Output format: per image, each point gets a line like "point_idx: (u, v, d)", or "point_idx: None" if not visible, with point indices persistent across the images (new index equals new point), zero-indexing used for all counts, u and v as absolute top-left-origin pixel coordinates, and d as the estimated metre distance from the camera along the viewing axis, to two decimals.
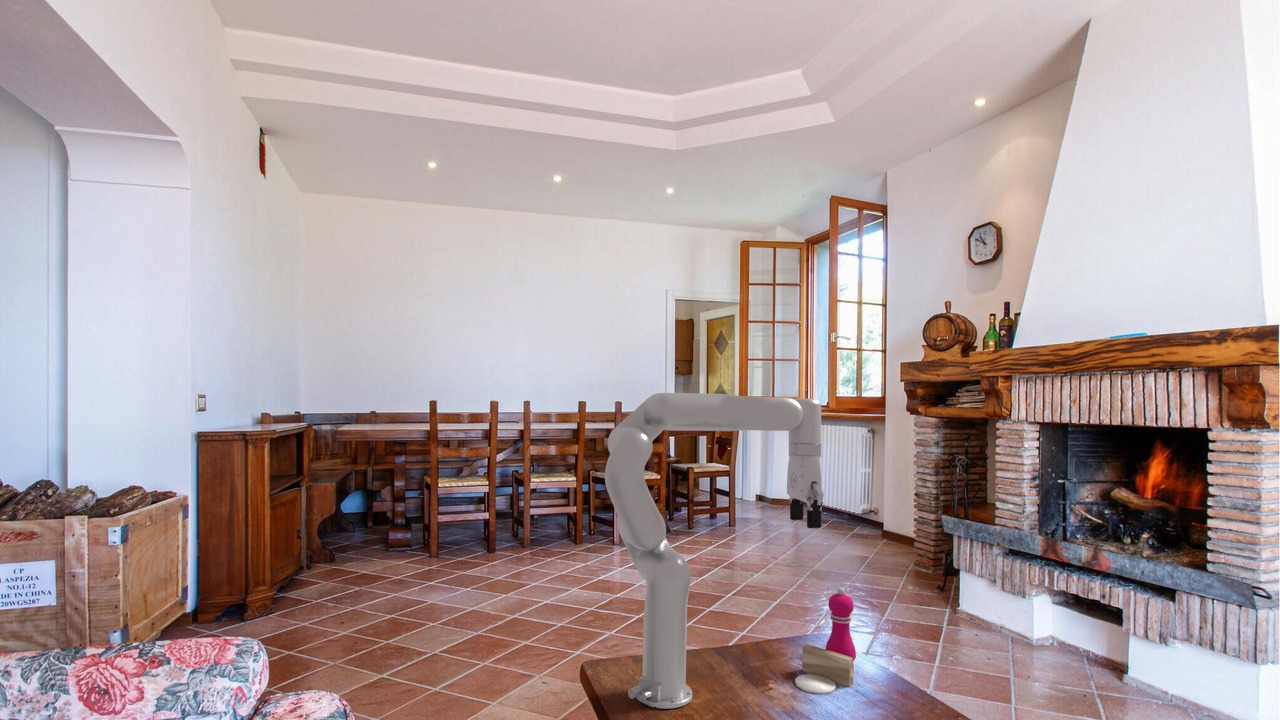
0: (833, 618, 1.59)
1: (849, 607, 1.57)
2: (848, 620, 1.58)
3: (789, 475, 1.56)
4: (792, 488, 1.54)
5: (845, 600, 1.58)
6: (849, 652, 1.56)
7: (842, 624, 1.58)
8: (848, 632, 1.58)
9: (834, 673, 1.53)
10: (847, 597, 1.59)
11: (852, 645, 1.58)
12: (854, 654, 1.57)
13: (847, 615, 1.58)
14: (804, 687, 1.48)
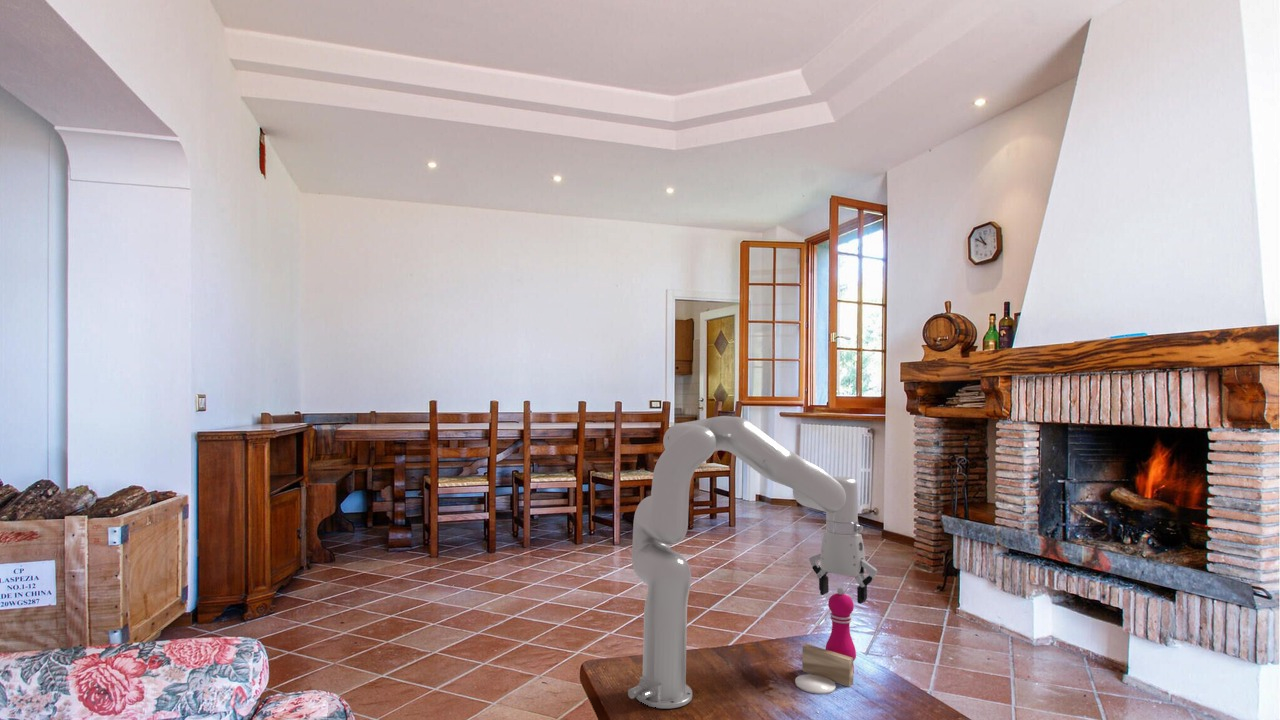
0: (833, 618, 1.59)
1: (849, 607, 1.57)
2: (848, 620, 1.58)
3: None
4: None
5: (845, 600, 1.58)
6: (849, 652, 1.56)
7: (842, 624, 1.58)
8: (848, 632, 1.58)
9: (834, 673, 1.53)
10: (847, 597, 1.59)
11: (852, 645, 1.58)
12: (854, 654, 1.57)
13: (847, 615, 1.58)
14: (804, 687, 1.48)
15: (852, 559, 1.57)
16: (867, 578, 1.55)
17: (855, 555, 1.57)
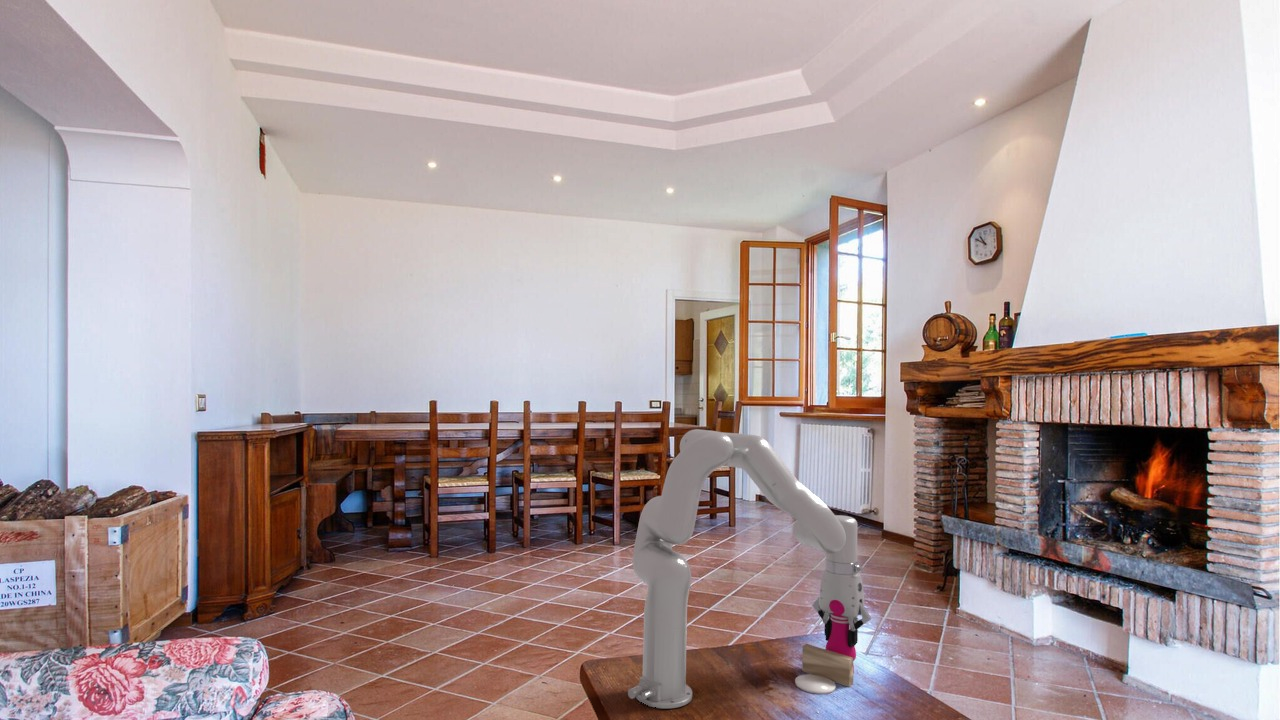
0: (833, 618, 1.59)
1: None
2: None
3: None
4: None
5: None
6: (849, 652, 1.56)
7: (842, 624, 1.58)
8: None
9: (834, 673, 1.53)
10: None
11: None
12: (854, 654, 1.57)
13: None
14: (804, 687, 1.48)
15: (851, 600, 1.56)
16: (858, 622, 1.56)
17: (854, 596, 1.56)
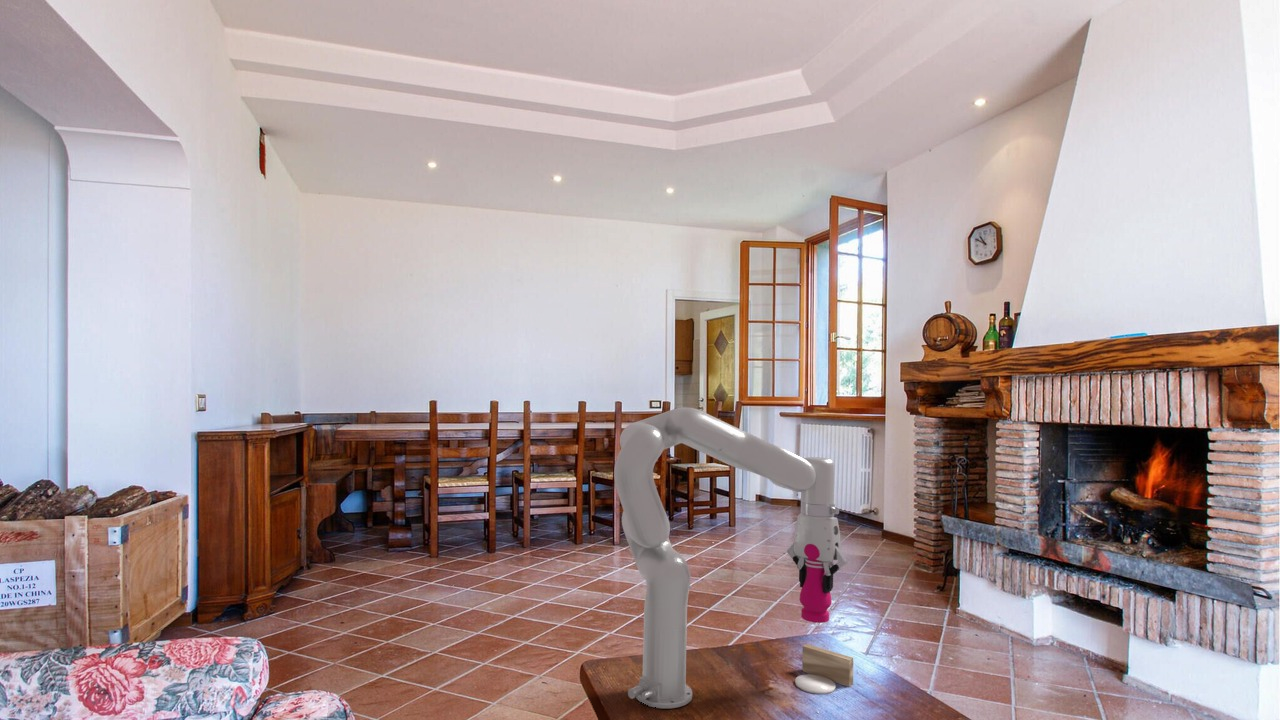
0: (808, 563, 1.51)
1: None
2: None
3: None
4: None
5: None
6: (824, 598, 1.49)
7: (817, 569, 1.50)
8: None
9: (834, 673, 1.53)
10: None
11: None
12: (829, 600, 1.50)
13: None
14: (804, 687, 1.48)
15: (826, 543, 1.49)
16: (833, 566, 1.48)
17: (830, 539, 1.48)
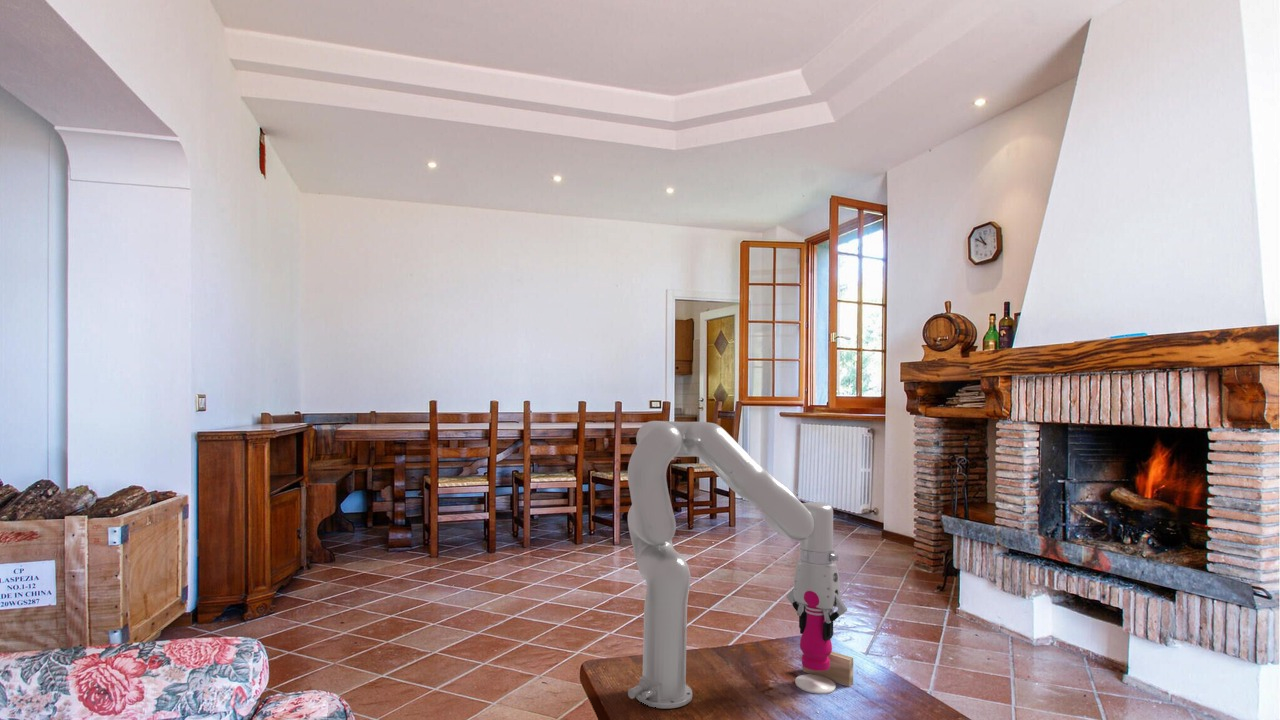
0: (808, 610, 1.51)
1: None
2: None
3: None
4: None
5: None
6: (824, 645, 1.48)
7: (817, 616, 1.50)
8: None
9: (834, 673, 1.53)
10: None
11: None
12: (830, 648, 1.49)
13: None
14: (804, 687, 1.48)
15: (826, 591, 1.48)
16: (833, 614, 1.48)
17: (829, 586, 1.48)
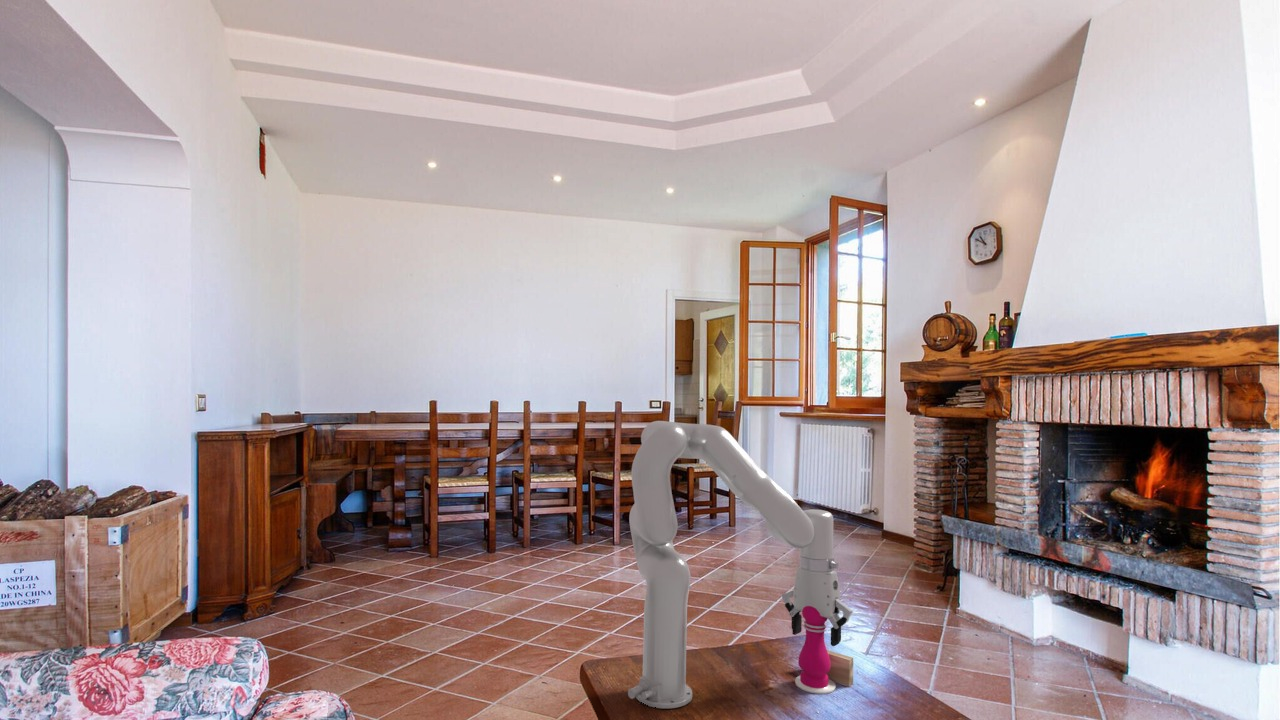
0: (807, 627, 1.50)
1: None
2: (822, 629, 1.49)
3: None
4: None
5: None
6: (823, 663, 1.48)
7: (816, 633, 1.49)
8: (822, 641, 1.50)
9: (834, 673, 1.53)
10: None
11: (826, 655, 1.49)
12: (828, 665, 1.49)
13: (821, 623, 1.50)
14: (804, 687, 1.48)
15: (826, 598, 1.48)
16: (841, 619, 1.46)
17: (829, 594, 1.48)
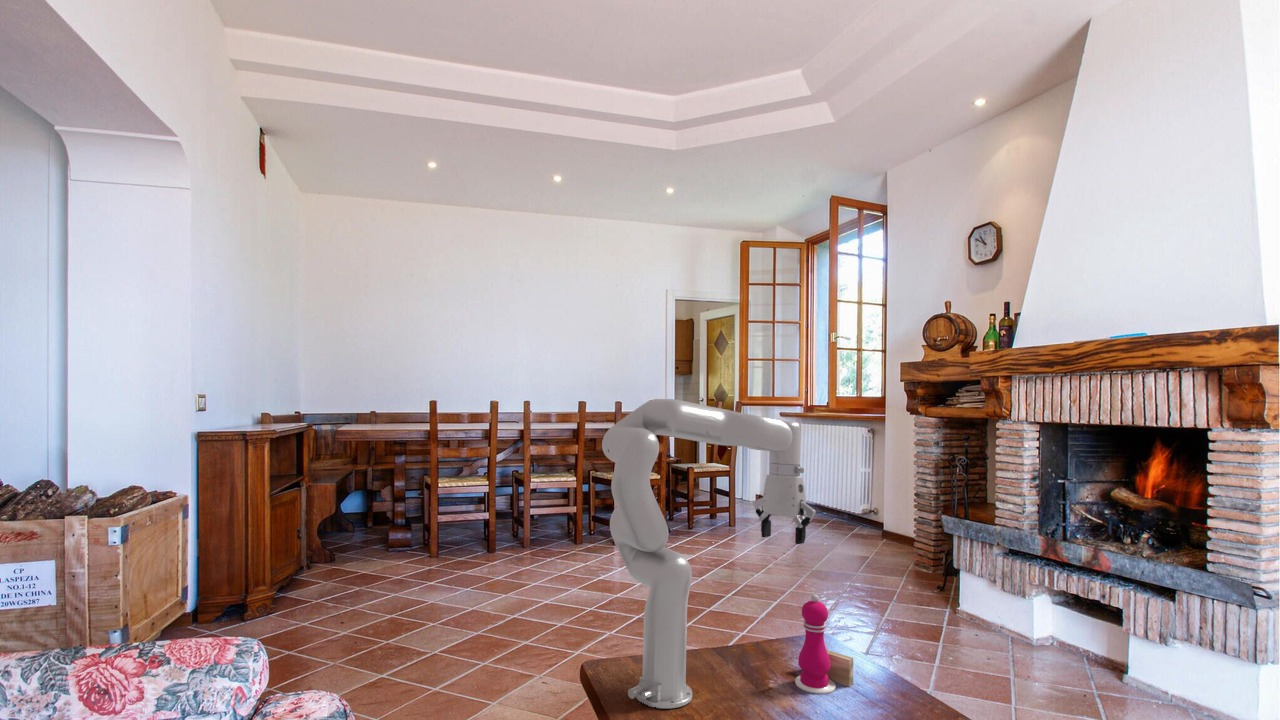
0: (806, 627, 1.50)
1: (823, 615, 1.49)
2: (822, 629, 1.49)
3: None
4: None
5: (819, 608, 1.49)
6: (823, 663, 1.48)
7: (816, 633, 1.49)
8: (822, 641, 1.50)
9: (834, 673, 1.53)
10: (821, 604, 1.51)
11: (826, 655, 1.49)
12: (828, 665, 1.49)
13: (821, 623, 1.50)
14: (804, 687, 1.48)
15: (791, 500, 1.58)
16: (805, 519, 1.56)
17: (794, 496, 1.58)
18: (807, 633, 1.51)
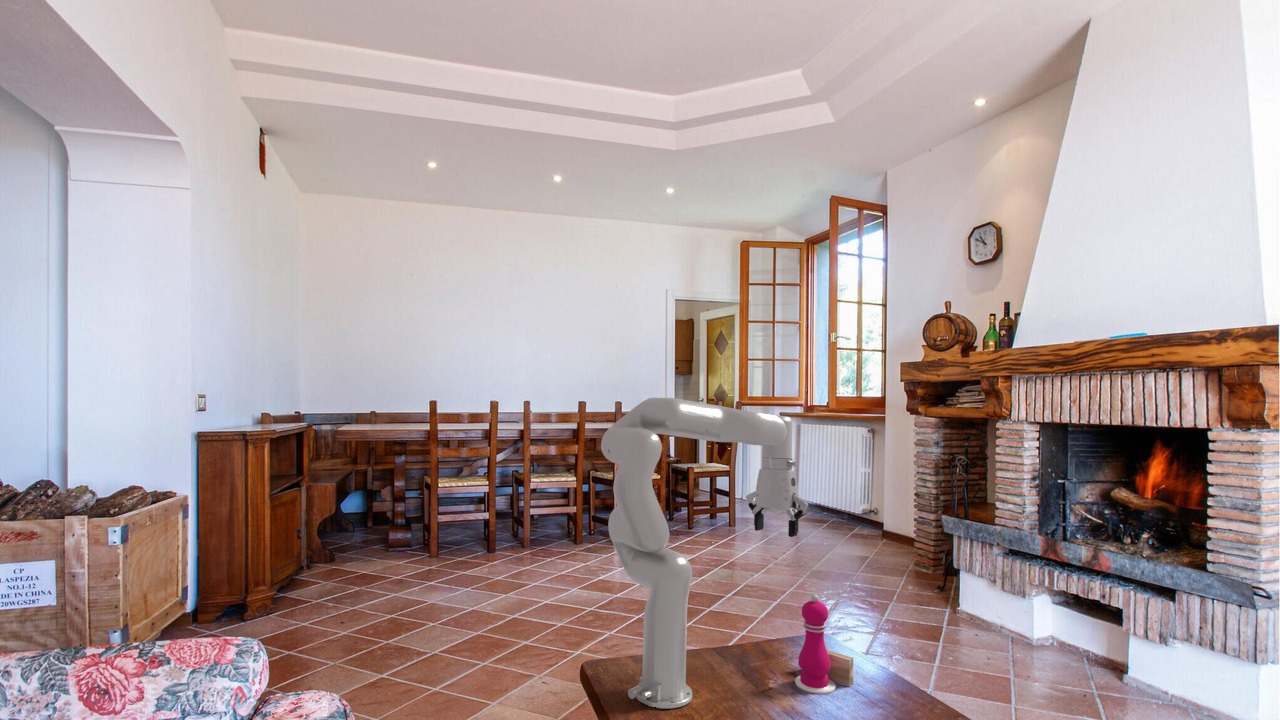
0: (806, 627, 1.50)
1: (823, 615, 1.49)
2: (822, 629, 1.49)
3: None
4: None
5: (819, 608, 1.49)
6: (823, 663, 1.48)
7: (816, 633, 1.49)
8: (822, 641, 1.50)
9: (834, 673, 1.53)
10: (821, 604, 1.50)
11: (826, 655, 1.49)
12: (828, 665, 1.49)
13: (821, 624, 1.50)
14: (804, 687, 1.48)
15: (784, 493, 1.60)
16: (798, 512, 1.59)
17: (787, 489, 1.60)
18: (807, 633, 1.51)
